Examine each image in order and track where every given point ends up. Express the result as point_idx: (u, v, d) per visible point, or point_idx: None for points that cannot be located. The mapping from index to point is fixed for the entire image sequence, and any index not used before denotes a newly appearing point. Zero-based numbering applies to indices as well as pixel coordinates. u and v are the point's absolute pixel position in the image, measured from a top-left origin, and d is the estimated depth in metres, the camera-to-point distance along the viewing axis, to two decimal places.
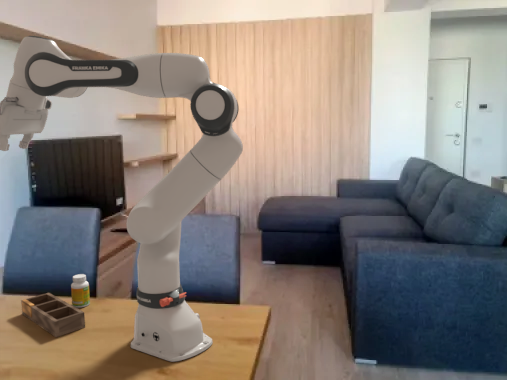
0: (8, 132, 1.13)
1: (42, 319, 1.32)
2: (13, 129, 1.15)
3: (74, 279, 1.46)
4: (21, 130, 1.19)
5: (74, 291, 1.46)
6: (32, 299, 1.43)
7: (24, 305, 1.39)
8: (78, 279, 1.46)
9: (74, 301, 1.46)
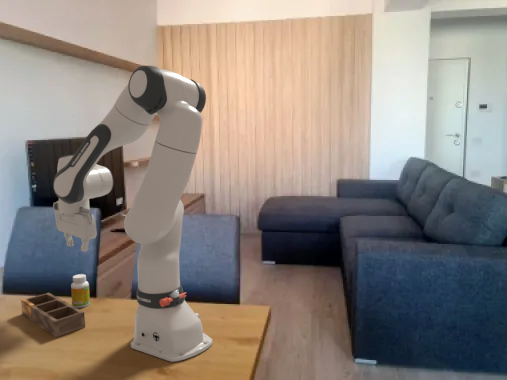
0: None
1: (42, 319, 1.32)
2: None
3: (74, 279, 1.46)
4: None
5: (74, 291, 1.46)
6: (32, 299, 1.43)
7: (24, 305, 1.39)
8: (78, 279, 1.46)
9: (74, 301, 1.46)
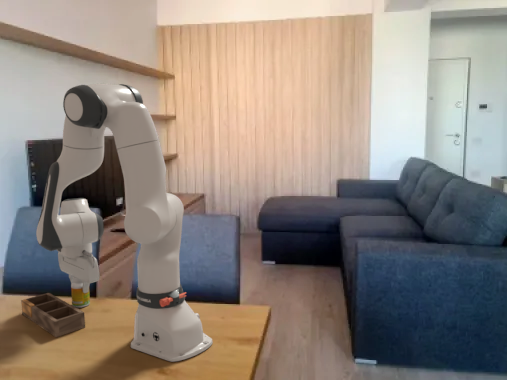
0: None
1: (42, 319, 1.32)
2: None
3: (74, 279, 1.46)
4: None
5: (74, 291, 1.46)
6: (32, 299, 1.43)
7: (24, 305, 1.39)
8: (78, 279, 1.46)
9: (74, 301, 1.46)
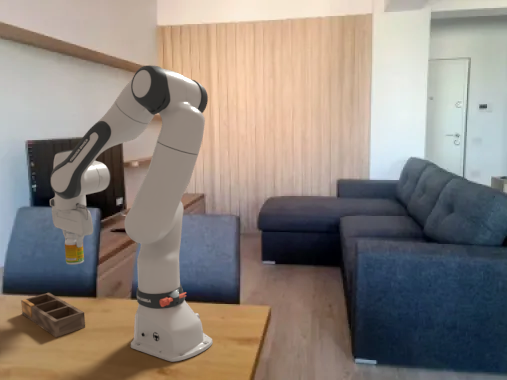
0: None
1: (42, 319, 1.32)
2: None
3: (68, 235, 1.43)
4: None
5: (67, 247, 1.43)
6: (32, 299, 1.43)
7: (24, 305, 1.39)
8: (72, 235, 1.43)
9: (68, 258, 1.44)
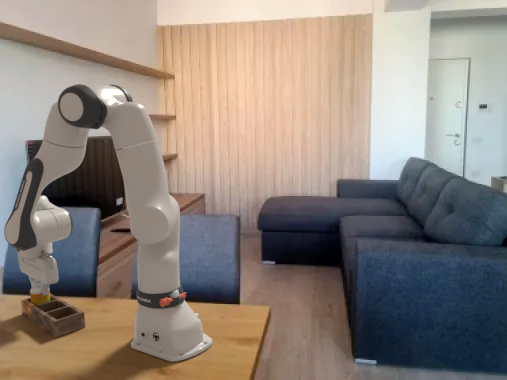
0: None
1: (42, 319, 1.32)
2: None
3: (33, 284, 1.39)
4: None
5: (32, 296, 1.39)
6: None
7: (24, 305, 1.39)
8: (37, 284, 1.39)
9: None
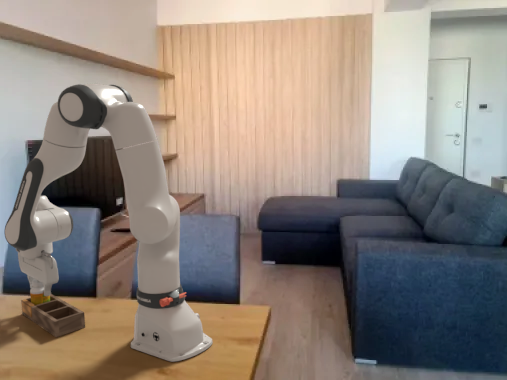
0: None
1: (42, 319, 1.32)
2: None
3: (33, 284, 1.39)
4: None
5: (32, 296, 1.39)
6: None
7: (24, 305, 1.39)
8: (37, 284, 1.39)
9: None
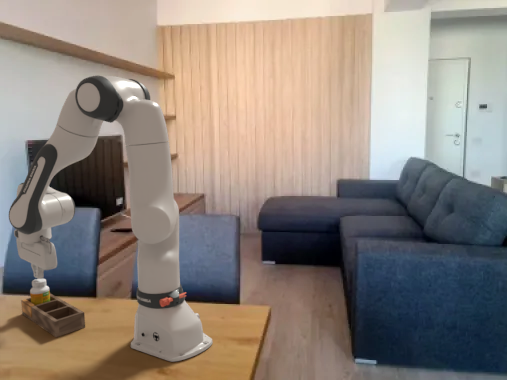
0: None
1: (42, 319, 1.32)
2: None
3: (33, 284, 1.39)
4: None
5: (32, 296, 1.39)
6: None
7: (24, 305, 1.39)
8: (37, 284, 1.39)
9: None
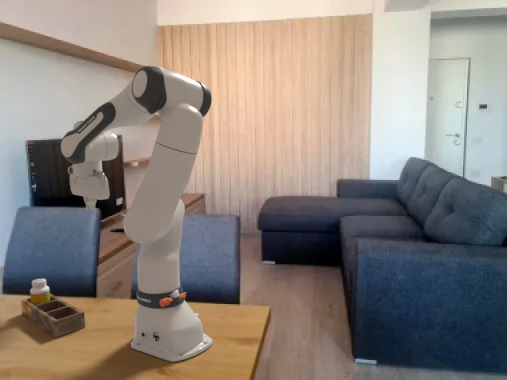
0: None
1: (42, 319, 1.32)
2: None
3: (33, 284, 1.39)
4: None
5: (32, 296, 1.39)
6: None
7: (24, 305, 1.39)
8: (37, 284, 1.39)
9: None
